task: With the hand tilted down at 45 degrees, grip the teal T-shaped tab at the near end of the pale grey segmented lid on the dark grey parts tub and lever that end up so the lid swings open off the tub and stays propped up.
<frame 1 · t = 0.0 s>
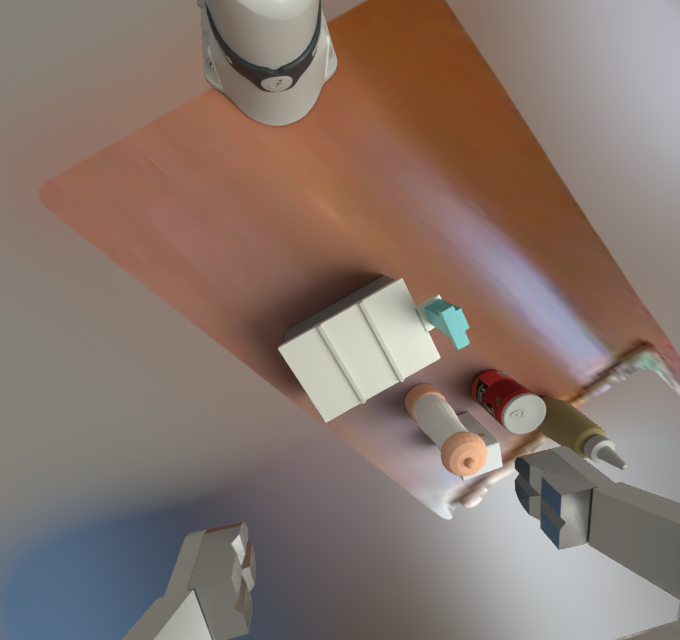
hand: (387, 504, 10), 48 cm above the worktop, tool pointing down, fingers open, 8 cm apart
small box: (452, 427, 68), on the worktop
pepper shaker: (421, 399, 65), on the worktop
tub: (352, 335, 59), on the worktop
lid: (379, 354, 47), point 13 cm above the worktop, hinge at 0.0°
squeeze bottle: (541, 408, 69), on the worktop
canned food: (487, 385, 66), on the worktop
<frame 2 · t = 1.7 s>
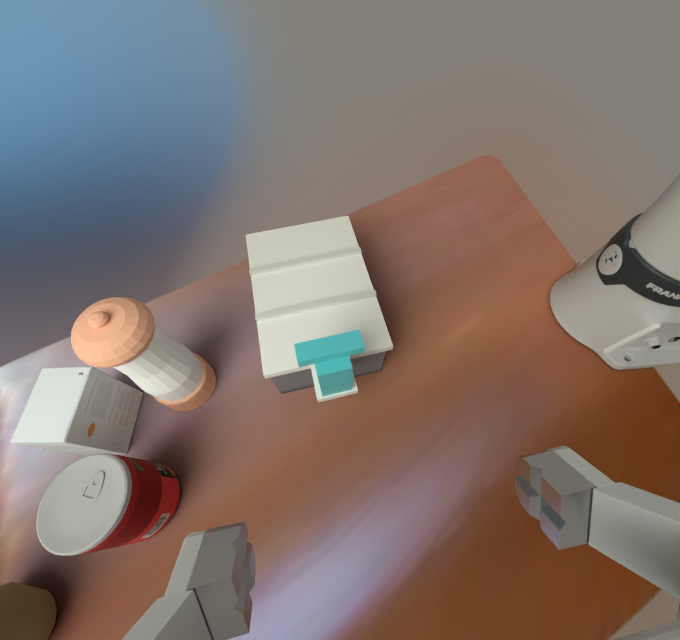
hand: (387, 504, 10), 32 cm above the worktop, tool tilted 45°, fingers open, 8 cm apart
small box: (116, 423, 43), on the worktop
pepper shaker: (190, 385, 45), on the worktop
tub: (317, 319, 49), on the worktop
lid: (312, 281, 37), point 13 cm above the worktop, hinge at 0.0°
squeeze bottle: (29, 623, 33), on the worktop
canned food: (150, 500, 38), on the worktop
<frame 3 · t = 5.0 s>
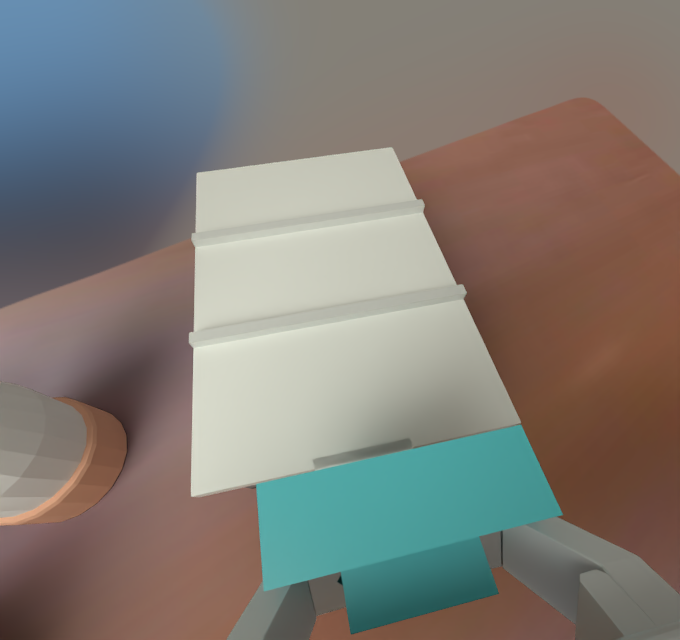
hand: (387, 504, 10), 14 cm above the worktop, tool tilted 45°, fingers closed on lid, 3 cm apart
pepper shaker: (75, 462, 23), on the worktop
lid: (325, 257, 15), point 13 cm above the worktop, hinge at 0.0°, touching gripper
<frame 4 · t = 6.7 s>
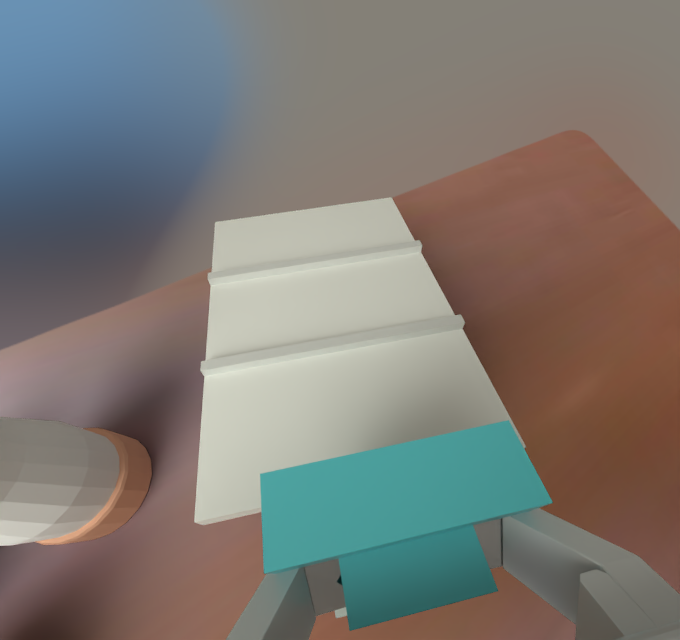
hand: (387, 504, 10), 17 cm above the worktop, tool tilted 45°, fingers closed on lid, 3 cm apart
pepper shaker: (105, 484, 26), on the worktop
lid: (329, 289, 17), point 14 cm above the worktop, hinge at 9.1°, touching gripper
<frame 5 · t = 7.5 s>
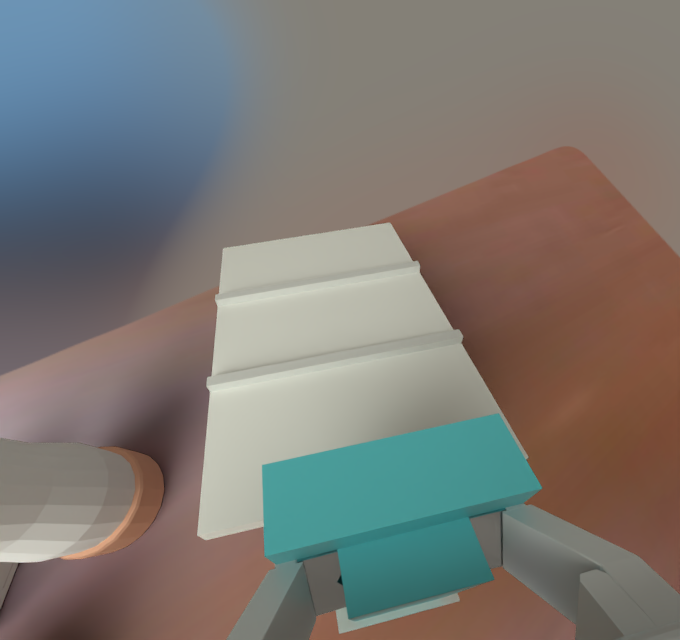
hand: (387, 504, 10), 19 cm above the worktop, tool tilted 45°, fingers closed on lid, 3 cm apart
pepper shaker: (120, 499, 27), on the worktop
lid: (330, 305, 18), point 15 cm above the worktop, hinge at 14.0°, touching gripper
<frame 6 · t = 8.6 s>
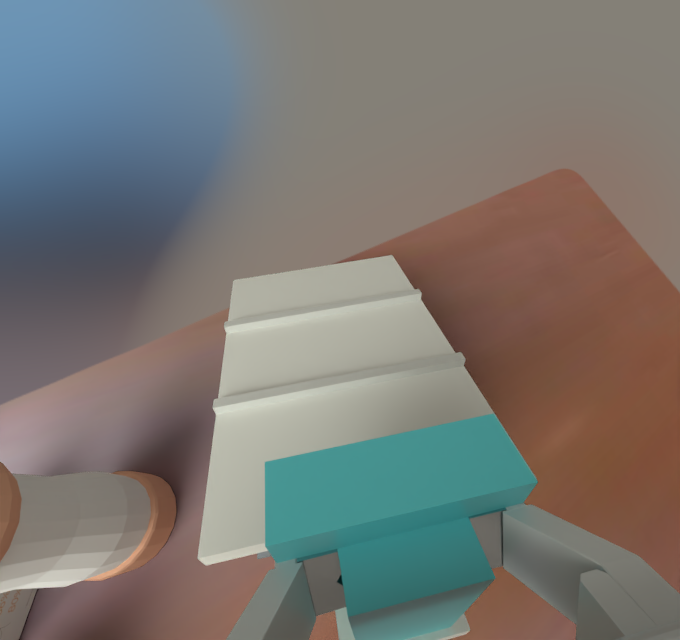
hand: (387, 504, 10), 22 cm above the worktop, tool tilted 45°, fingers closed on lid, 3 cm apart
small box: (7, 588, 26), on the worktop
pepper shaker: (134, 519, 28), on the worktop
lid: (334, 327, 18), point 17 cm above the worktop, hinge at 21.2°, touching gripper
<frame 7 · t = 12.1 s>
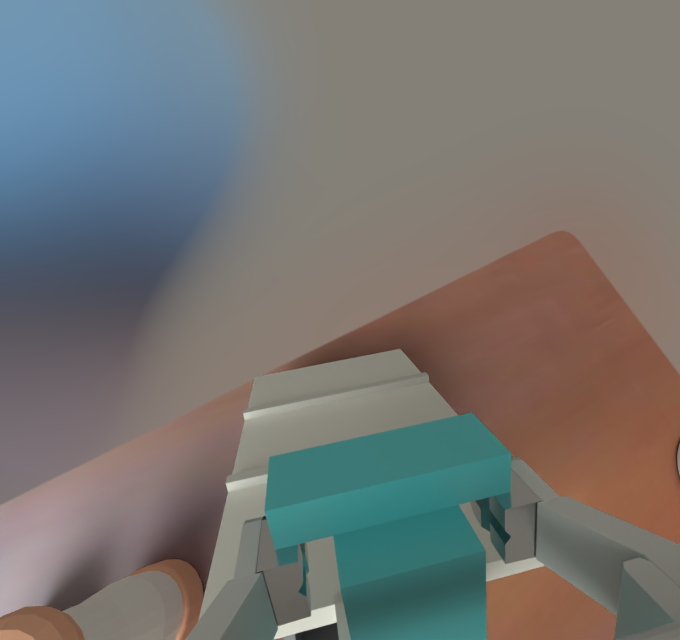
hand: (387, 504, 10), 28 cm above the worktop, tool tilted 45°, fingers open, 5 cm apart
pepper shaker: (165, 606, 30), on the worktop
tub: (351, 490, 35), on the worktop
lid: (344, 397, 20), point 20 cm above the worktop, hinge at 43.3°
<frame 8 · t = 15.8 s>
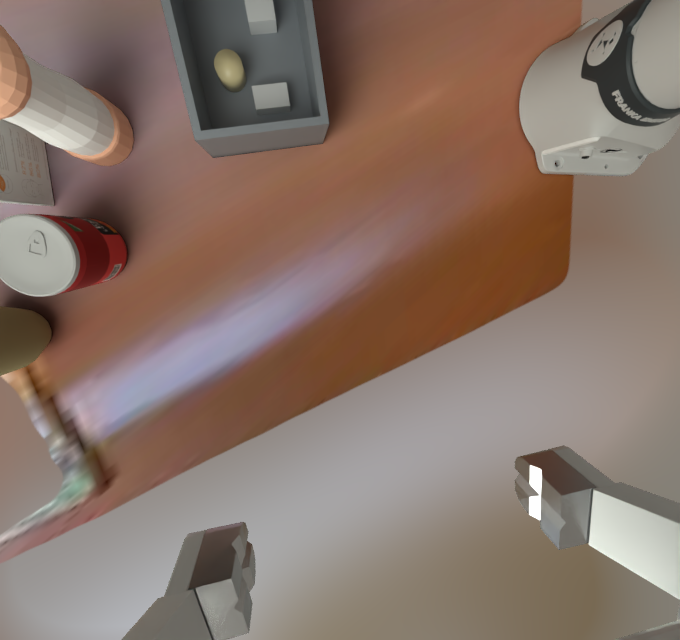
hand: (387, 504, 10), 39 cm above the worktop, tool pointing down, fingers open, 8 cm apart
small box: (26, 170, 39), on the worktop
pepper shaker: (101, 133, 39), on the worktop
tub: (251, 59, 39), on the worktop
squeeze bottle: (29, 329, 43), on the worktop
canned food: (98, 250, 42), on the worktop
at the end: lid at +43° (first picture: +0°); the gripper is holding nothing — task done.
